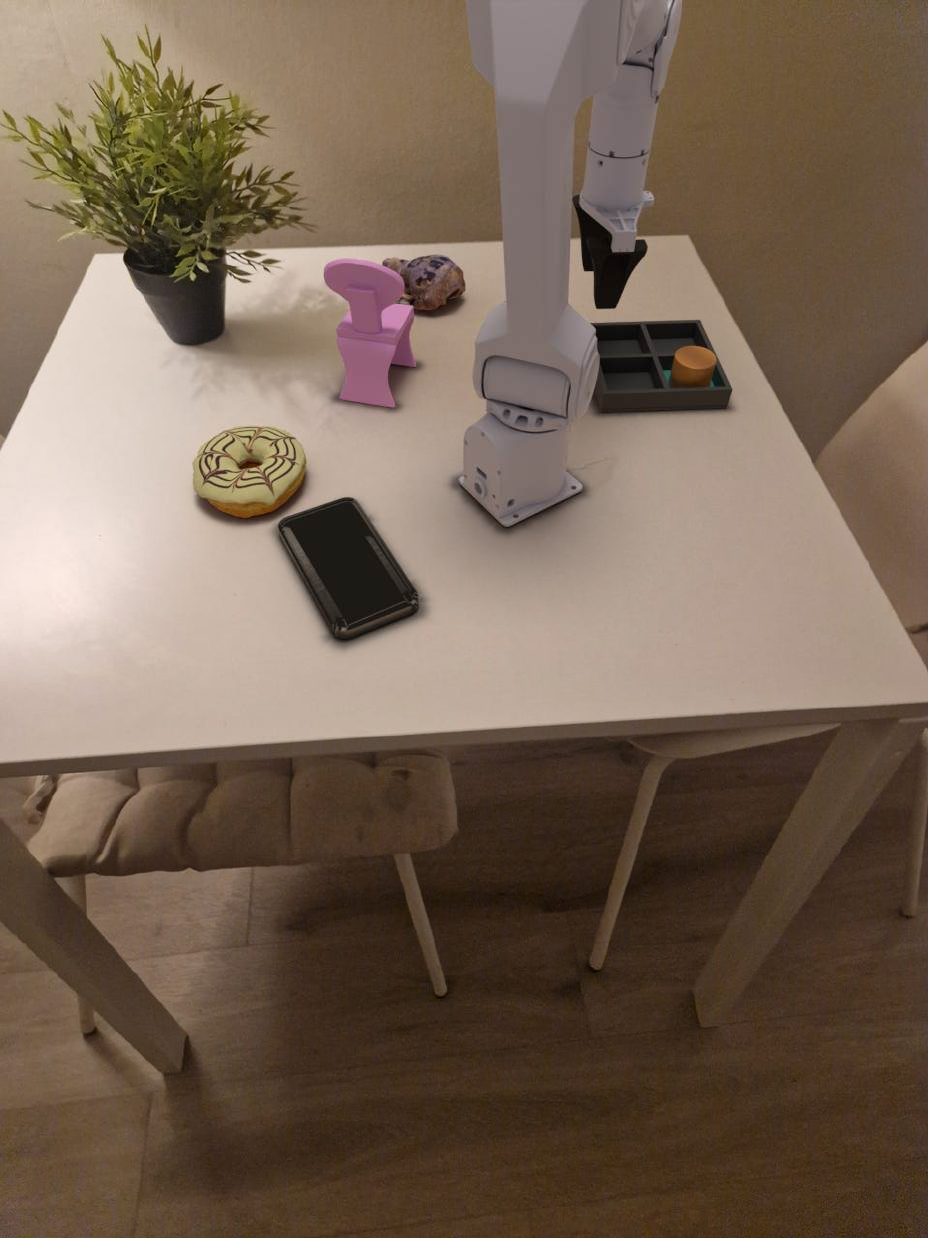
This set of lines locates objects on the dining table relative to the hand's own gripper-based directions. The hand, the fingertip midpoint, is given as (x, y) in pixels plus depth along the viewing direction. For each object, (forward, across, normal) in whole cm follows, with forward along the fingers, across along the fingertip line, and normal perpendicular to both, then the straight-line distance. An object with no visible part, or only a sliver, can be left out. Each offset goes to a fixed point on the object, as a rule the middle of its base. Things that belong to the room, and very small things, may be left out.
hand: (599, 287), depth 83 cm
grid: (+9, -2, -7) cm, 12 cm away
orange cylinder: (+9, -5, -10) cm, 14 cm away
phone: (+9, -30, +26) cm, 41 cm away
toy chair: (+10, -1, +24) cm, 26 cm away
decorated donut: (+10, -18, +36) cm, 41 cm away
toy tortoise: (+10, +17, +18) cm, 27 cm away
